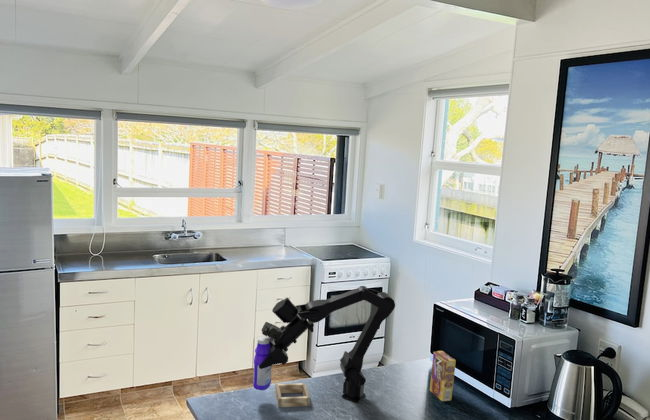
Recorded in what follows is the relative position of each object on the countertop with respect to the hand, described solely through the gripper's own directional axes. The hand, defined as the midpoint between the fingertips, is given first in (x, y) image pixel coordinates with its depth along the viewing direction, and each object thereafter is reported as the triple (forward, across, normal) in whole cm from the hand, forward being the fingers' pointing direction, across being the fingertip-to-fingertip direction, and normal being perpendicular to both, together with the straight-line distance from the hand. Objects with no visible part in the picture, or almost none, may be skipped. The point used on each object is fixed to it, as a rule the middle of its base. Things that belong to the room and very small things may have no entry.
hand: (258, 363), depth 188 cm
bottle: (+5, 0, +7) cm, 9 cm away
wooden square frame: (+1, 0, +18) cm, 18 cm away
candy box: (-37, +2, +57) cm, 68 cm away
